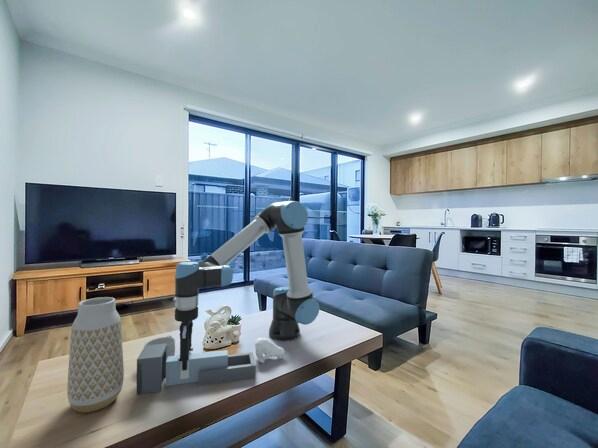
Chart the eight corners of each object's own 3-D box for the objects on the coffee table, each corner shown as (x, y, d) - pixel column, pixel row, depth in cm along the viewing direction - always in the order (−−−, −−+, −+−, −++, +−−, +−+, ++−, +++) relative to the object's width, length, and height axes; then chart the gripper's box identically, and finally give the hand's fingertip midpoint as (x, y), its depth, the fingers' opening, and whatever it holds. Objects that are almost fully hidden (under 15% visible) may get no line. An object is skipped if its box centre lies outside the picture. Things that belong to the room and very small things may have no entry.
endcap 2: (252, 363, 107) (252, 352, 107) (255, 378, 98) (255, 365, 97) (200, 370, 102) (200, 358, 102) (198, 385, 92) (198, 372, 92)
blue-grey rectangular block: (227, 371, 102) (227, 349, 101) (227, 377, 98) (227, 355, 98) (167, 379, 96) (168, 356, 96) (165, 385, 92) (165, 362, 92)
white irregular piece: (256, 334, 113) (285, 336, 115) (253, 355, 113) (282, 356, 115) (255, 341, 107) (286, 343, 109) (253, 363, 107) (284, 364, 109)
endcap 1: (166, 374, 99) (167, 343, 99) (160, 391, 89) (161, 356, 89) (145, 377, 97) (145, 345, 97) (136, 394, 87) (136, 359, 87)
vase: (105, 384, 93) (105, 292, 92) (133, 394, 87) (134, 298, 87) (56, 409, 80) (56, 304, 80) (86, 424, 75) (86, 310, 74)
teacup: (162, 371, 101) (162, 350, 101) (136, 368, 103) (136, 346, 103) (185, 353, 114) (185, 334, 114) (162, 350, 116) (162, 332, 116)
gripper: (178, 300, 103) (177, 363, 103) (170, 316, 86) (169, 390, 87) (200, 299, 105) (199, 361, 105) (196, 314, 88) (194, 387, 89)
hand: (185, 374), depth 96 cm, fingers closed on blue-grey rectangular block, 4 cm apart
